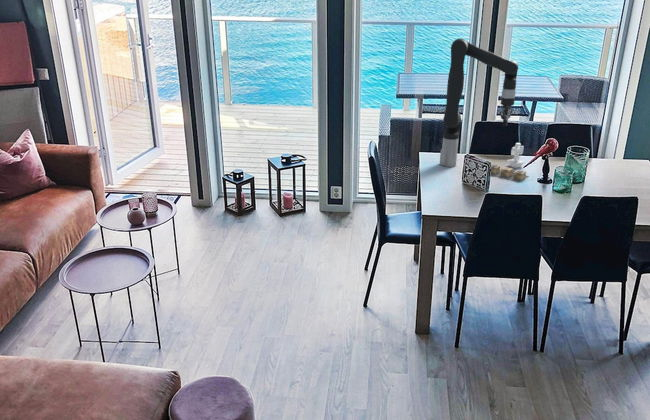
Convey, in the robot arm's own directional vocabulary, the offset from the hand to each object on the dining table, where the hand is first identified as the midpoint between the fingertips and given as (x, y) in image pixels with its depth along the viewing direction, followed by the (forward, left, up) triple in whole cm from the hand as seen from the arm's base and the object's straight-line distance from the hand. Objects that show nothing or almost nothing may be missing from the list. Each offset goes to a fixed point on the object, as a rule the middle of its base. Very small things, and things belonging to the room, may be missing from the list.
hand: (504, 125), depth 359 cm
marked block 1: (0, -8, -27) cm, 28 cm away
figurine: (+5, +11, -27) cm, 30 cm away
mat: (+8, -8, -27) cm, 29 cm away
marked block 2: (+16, -8, -27) cm, 32 cm away
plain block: (+8, -8, -27) cm, 29 cm away
